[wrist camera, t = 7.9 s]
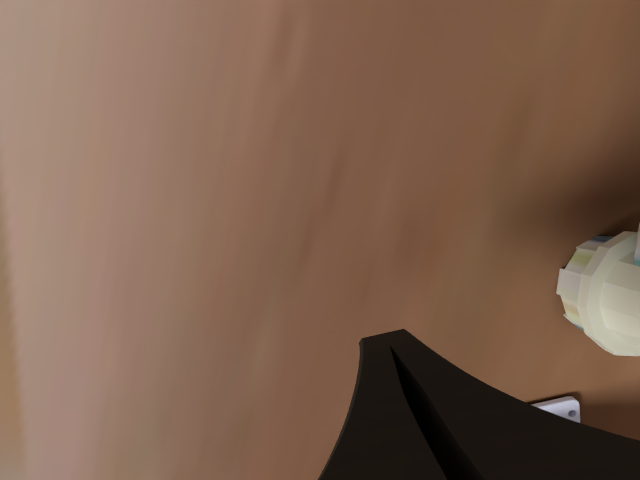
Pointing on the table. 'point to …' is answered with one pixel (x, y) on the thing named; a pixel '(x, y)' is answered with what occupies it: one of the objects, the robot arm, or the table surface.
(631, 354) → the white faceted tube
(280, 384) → the table surface
